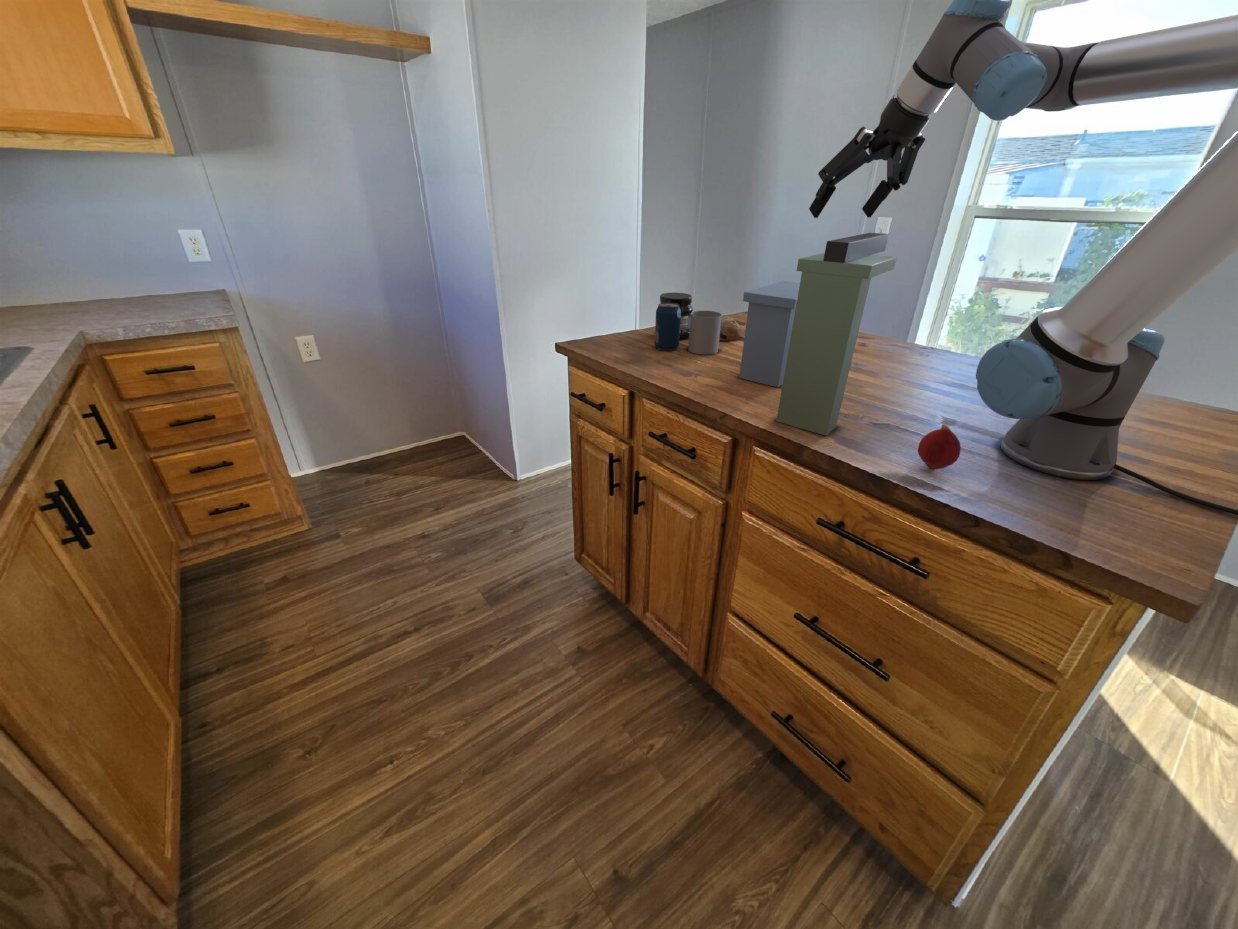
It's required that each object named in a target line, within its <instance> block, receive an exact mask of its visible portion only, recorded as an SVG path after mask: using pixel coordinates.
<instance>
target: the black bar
mask: <svg viewBox="0 0 1238 929" xmlns="http://www.w3.org/2000/svg"><path fill="white" fill-rule="evenodd" d="M889 235H890V234H889V233H882V232H881V233H880V232H867V233H861V234H857V235H851V236H846V237H841V238H836V239H831V240H827V241H826V245H825V249H824V253H825V254H824V259H823V261H830V262H840V263H846V262H849V261H852V260H856V259H859V258H863V257H866V256H869V255H877V254H879V253H883V252H885V251H886V248H887V243H888V240H889Z"/></svg>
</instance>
